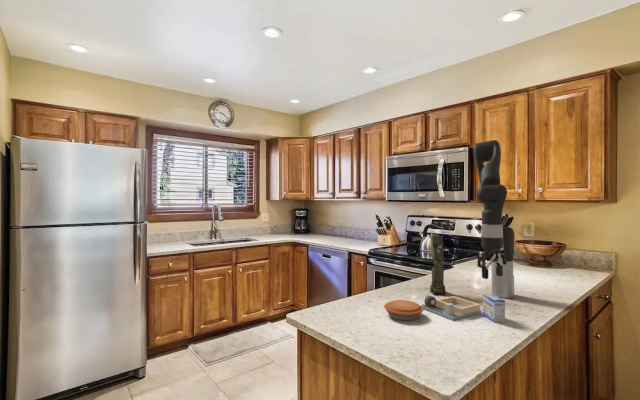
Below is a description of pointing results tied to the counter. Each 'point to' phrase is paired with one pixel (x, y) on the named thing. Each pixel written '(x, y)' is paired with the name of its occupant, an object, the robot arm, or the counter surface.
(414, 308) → the pie
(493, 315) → the medicine box
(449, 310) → the chassis
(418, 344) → the counter surface
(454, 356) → the counter surface
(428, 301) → the wheel
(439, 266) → the mechanical leg
